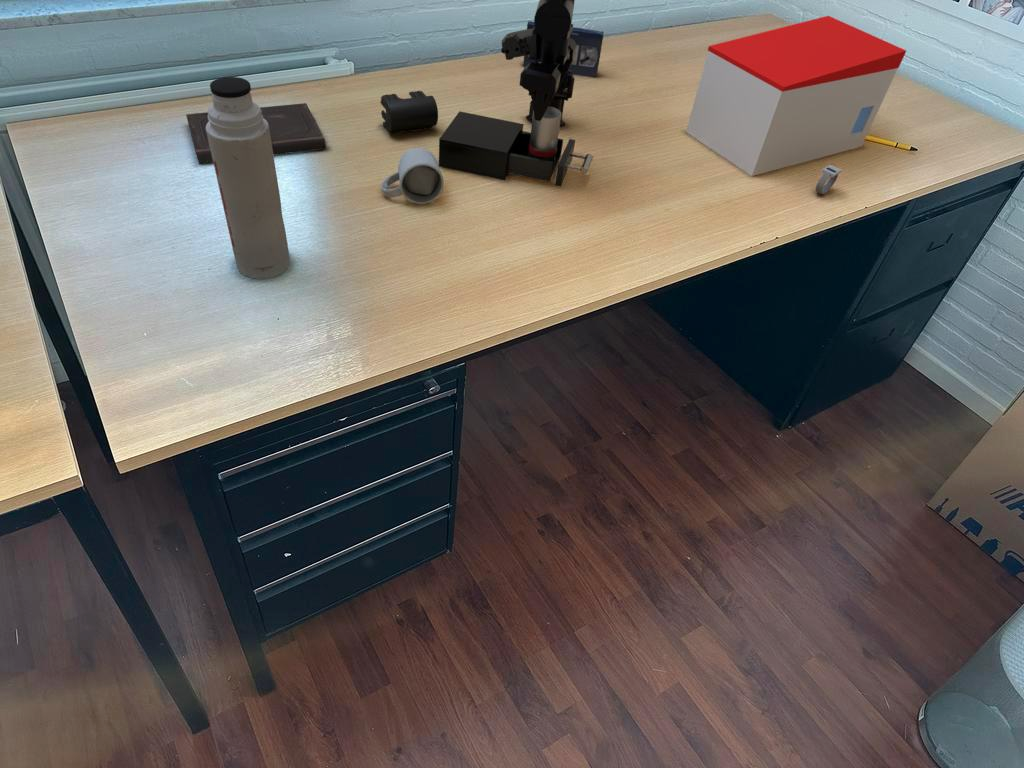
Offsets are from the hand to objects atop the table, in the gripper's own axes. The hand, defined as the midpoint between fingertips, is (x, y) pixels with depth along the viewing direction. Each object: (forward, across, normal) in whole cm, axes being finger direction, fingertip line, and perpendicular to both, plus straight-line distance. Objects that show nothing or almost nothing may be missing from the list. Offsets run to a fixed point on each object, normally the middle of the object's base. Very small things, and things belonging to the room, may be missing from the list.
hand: (543, 109), depth 131 cm
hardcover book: (+12, +10, -54) cm, 56 cm away
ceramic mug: (+12, +18, -19) cm, 29 cm away
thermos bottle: (+12, +46, -33) cm, 58 cm away
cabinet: (+12, 0, -11) cm, 17 cm away
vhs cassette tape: (+12, -51, -6) cm, 53 cm away
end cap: (+12, -5, -28) cm, 31 cm away
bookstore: (+12, -36, +46) cm, 60 cm away
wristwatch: (+12, -15, +56) cm, 59 cm away
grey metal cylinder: (+10, 0, +1) cm, 10 cm away
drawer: (+11, 0, +2) cm, 11 cm away
